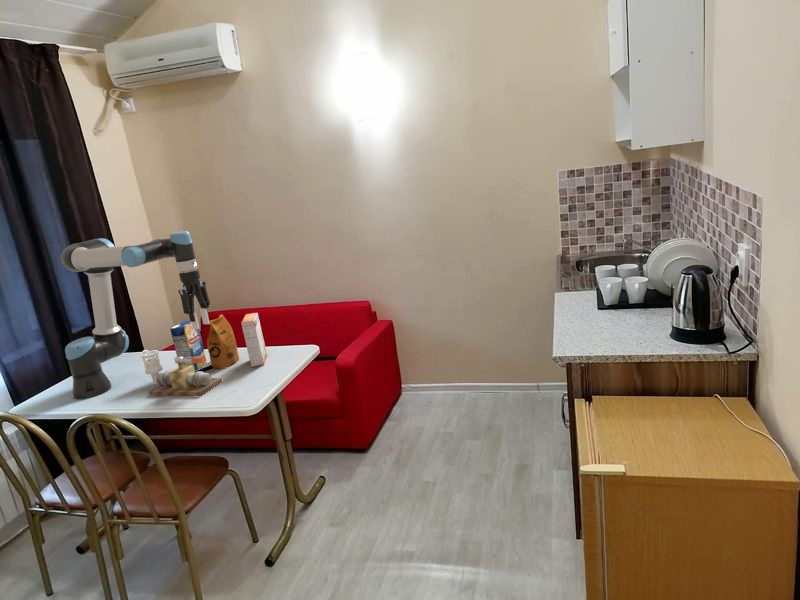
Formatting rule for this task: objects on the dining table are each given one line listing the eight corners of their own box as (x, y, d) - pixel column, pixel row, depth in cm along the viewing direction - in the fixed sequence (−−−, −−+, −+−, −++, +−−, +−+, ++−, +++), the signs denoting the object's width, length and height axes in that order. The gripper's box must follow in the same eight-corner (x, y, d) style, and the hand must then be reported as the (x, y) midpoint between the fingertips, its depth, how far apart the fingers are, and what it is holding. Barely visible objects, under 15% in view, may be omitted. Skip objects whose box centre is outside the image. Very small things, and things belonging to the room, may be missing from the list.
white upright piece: (157, 379, 263) (149, 347, 259) (169, 380, 259) (161, 347, 256) (145, 385, 257) (136, 353, 253) (156, 386, 253) (147, 353, 250)
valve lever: (173, 363, 241) (172, 358, 241) (179, 360, 244) (177, 355, 243) (201, 363, 236) (200, 358, 235) (206, 360, 239) (205, 355, 238)
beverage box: (181, 376, 263) (170, 328, 257) (194, 366, 273) (183, 321, 268) (195, 374, 261) (184, 327, 256) (207, 365, 272) (196, 319, 266)
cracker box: (254, 357, 273) (245, 314, 268) (267, 355, 274) (258, 311, 269) (250, 367, 260) (240, 322, 255) (264, 365, 260) (254, 319, 255)
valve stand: (149, 395, 243) (142, 369, 240) (173, 382, 256) (166, 356, 253) (200, 396, 234) (193, 369, 231) (222, 382, 246) (216, 356, 243)
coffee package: (208, 369, 266) (197, 322, 261) (224, 359, 278) (214, 314, 272) (227, 369, 263) (216, 321, 258) (242, 358, 274) (232, 313, 269)
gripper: (179, 275, 226) (193, 333, 231) (211, 264, 242) (223, 319, 248) (164, 276, 229) (178, 334, 234) (196, 266, 245) (208, 319, 251)
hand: (201, 326), depth 241 cm, fingers open, 6 cm apart
